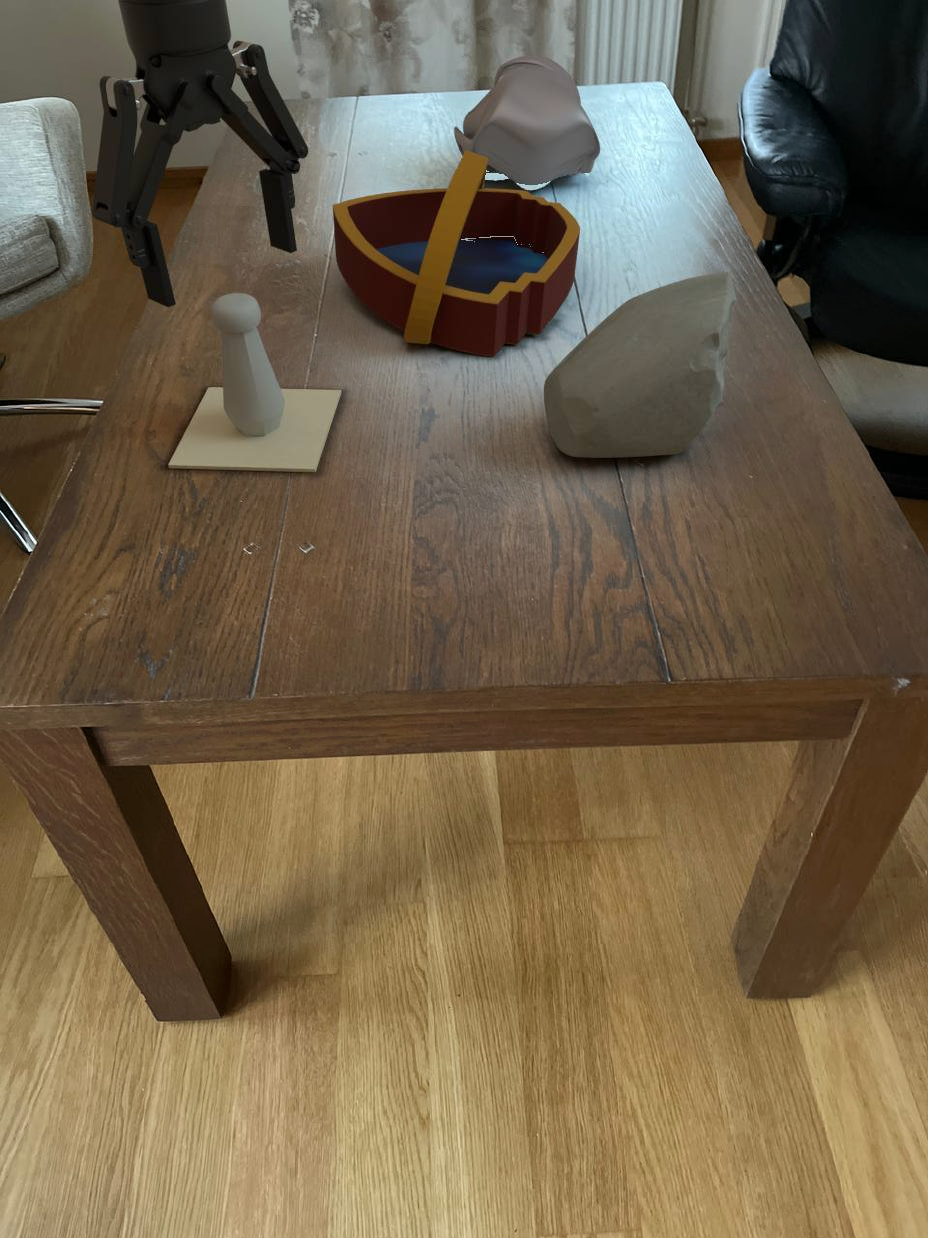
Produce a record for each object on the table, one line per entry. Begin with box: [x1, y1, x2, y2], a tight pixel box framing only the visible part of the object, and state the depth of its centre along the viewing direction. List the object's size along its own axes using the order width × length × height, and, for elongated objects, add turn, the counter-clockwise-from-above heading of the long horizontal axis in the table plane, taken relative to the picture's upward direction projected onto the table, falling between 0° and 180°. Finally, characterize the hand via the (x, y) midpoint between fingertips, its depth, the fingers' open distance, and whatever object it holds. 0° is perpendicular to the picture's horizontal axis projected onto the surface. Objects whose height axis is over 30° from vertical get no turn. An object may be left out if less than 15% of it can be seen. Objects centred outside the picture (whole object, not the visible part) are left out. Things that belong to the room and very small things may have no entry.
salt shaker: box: [210, 292, 285, 436], centre depth 89 cm, size 6×6×13 cm
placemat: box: [167, 386, 342, 473], centre depth 93 cm, size 14×14×1 cm
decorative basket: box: [332, 150, 581, 357], centre depth 109 cm, size 34×29×15 cm
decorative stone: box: [543, 271, 737, 459], centre depth 86 cm, size 12×17×15 cm
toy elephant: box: [453, 54, 601, 192], centre depth 135 cm, size 20×18×15 cm
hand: (225, 274), depth 82 cm, fingers open, 13 cm apart
